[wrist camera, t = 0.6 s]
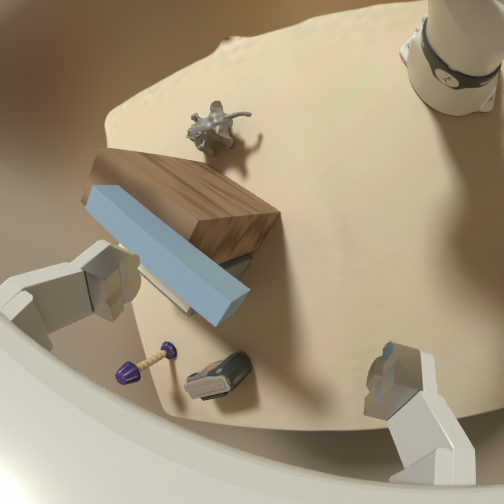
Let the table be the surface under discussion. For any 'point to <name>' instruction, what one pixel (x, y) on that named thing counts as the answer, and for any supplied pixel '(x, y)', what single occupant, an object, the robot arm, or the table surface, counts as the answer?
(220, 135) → the gray elephant figurine
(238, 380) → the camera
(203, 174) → the walnut stand
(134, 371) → the toy lamp
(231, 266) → the stand
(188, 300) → the blue bar
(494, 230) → the table surface
